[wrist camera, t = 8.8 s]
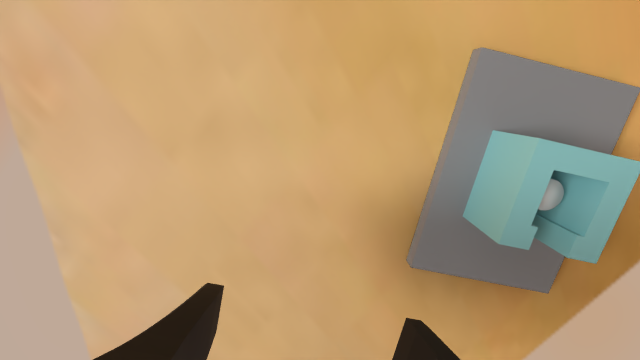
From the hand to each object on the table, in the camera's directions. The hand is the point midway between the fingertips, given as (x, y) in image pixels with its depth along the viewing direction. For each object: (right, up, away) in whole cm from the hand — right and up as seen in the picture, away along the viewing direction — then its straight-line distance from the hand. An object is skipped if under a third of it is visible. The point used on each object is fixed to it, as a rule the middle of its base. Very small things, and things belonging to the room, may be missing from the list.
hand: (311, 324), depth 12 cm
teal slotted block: (+13, +5, +8) cm, 16 cm away
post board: (+13, +6, +9) cm, 16 cm away
